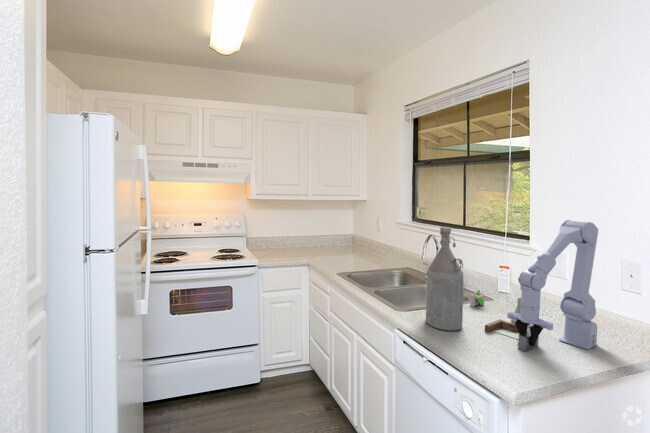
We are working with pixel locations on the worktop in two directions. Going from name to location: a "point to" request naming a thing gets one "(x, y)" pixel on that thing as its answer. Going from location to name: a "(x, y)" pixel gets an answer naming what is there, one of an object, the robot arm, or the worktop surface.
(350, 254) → the worktop surface
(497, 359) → the worktop surface
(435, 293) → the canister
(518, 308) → the flask
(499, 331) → the pad
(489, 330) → the grey and brown piece
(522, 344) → the bracket
